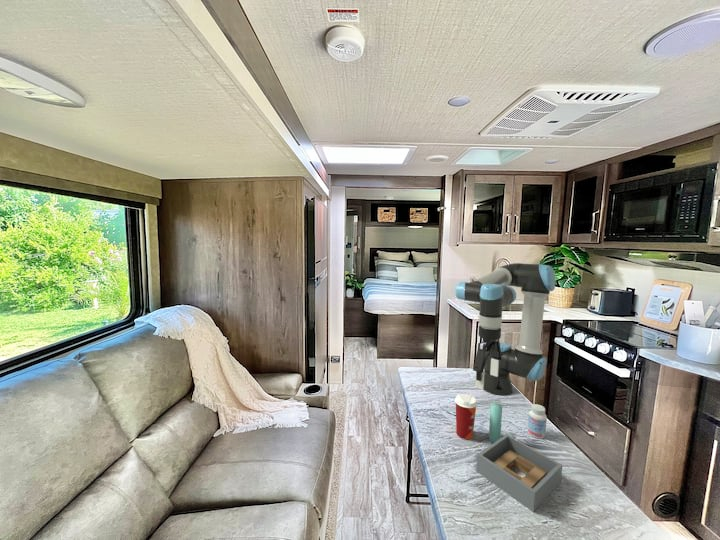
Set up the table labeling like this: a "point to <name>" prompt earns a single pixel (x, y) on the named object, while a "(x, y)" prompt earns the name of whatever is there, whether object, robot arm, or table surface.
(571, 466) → the table surface
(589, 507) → the table surface
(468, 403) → the coffee cup
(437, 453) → the table surface
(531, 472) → the bore block
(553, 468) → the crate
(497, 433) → the peg
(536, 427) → the pill bottle
